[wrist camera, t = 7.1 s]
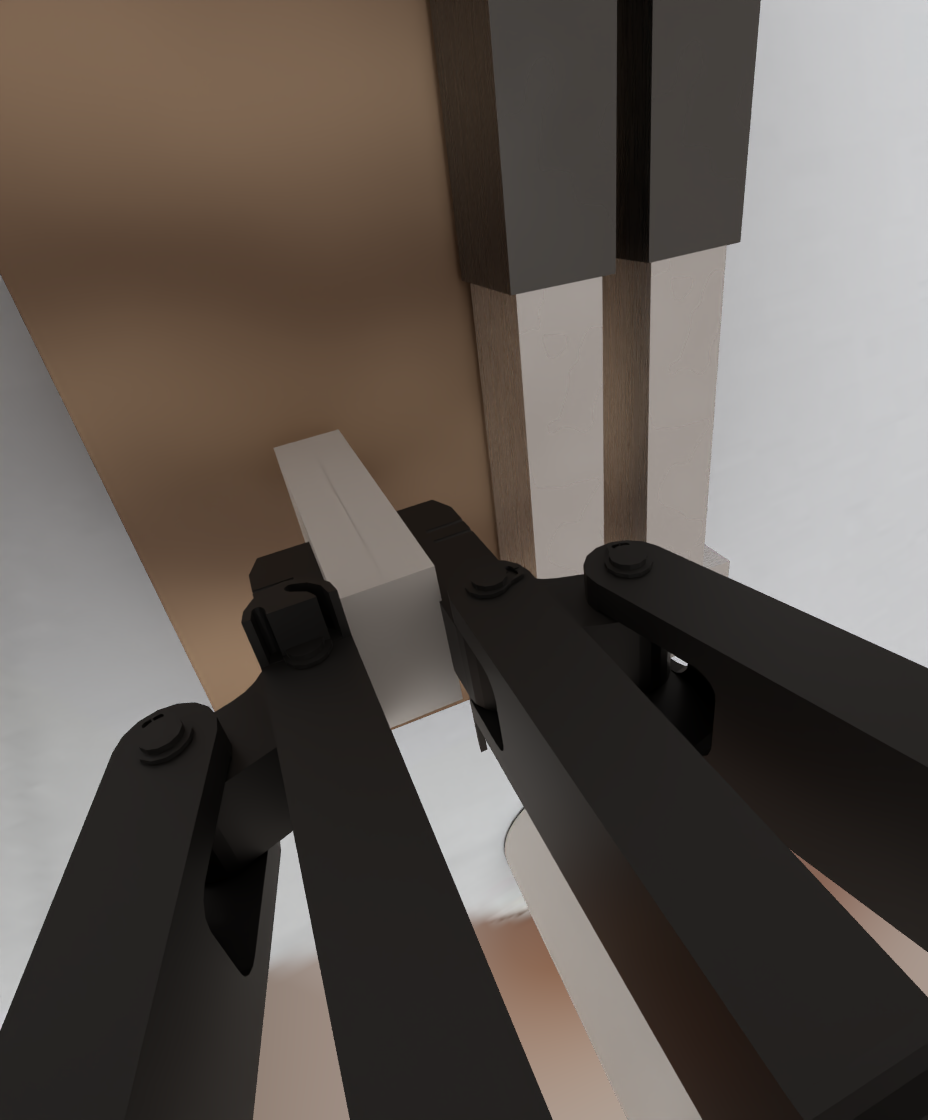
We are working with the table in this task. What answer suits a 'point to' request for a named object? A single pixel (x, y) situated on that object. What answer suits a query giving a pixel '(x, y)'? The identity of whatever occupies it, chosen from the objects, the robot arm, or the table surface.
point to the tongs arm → (536, 252)
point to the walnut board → (239, 272)
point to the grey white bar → (672, 260)
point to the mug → (595, 985)
